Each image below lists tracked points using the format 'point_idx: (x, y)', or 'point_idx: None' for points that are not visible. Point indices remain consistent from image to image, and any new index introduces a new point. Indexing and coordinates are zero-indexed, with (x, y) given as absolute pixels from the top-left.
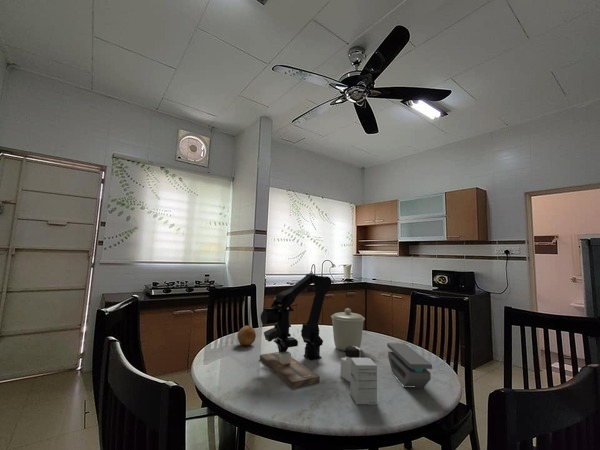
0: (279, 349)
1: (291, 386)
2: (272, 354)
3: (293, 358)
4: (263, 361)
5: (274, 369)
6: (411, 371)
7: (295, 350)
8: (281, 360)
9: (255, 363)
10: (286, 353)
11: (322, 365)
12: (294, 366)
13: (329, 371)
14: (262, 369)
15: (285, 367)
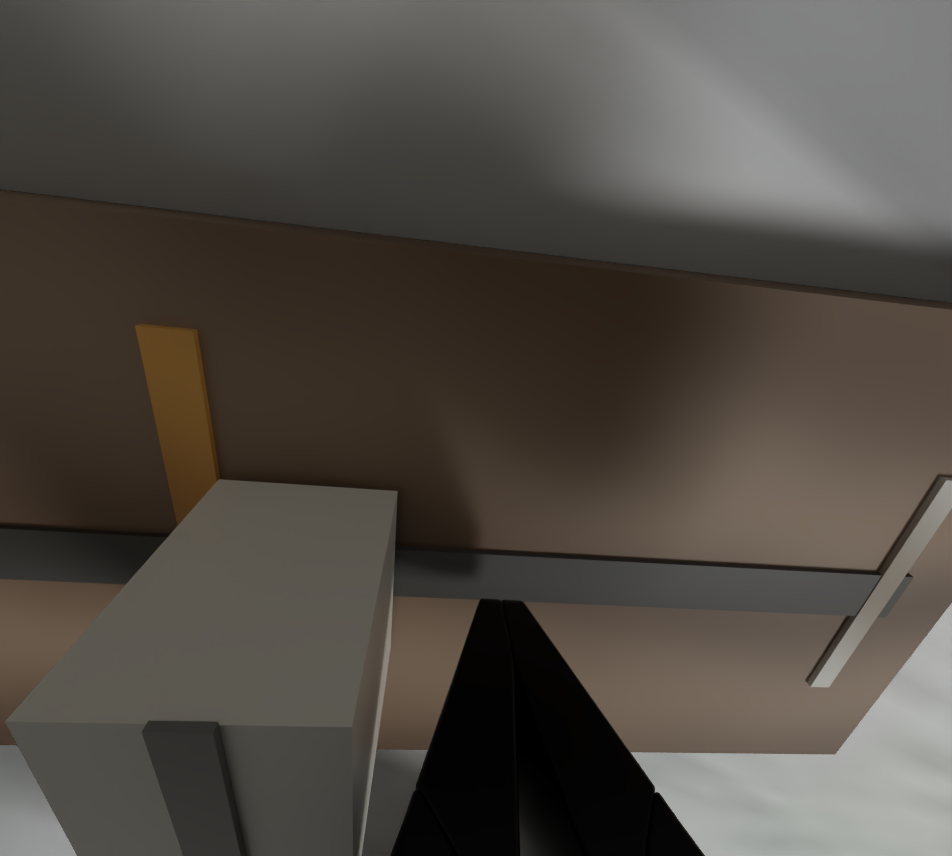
0: (572, 838)
1: None
2: (882, 572)
3: None
4: (844, 291)
5: (176, 214)
6: None
7: (785, 831)
8: (261, 530)
9: (947, 64)
10: (135, 839)
11: None
12: (54, 622)
13: (22, 839)
14: (499, 8)
15: (35, 455)
